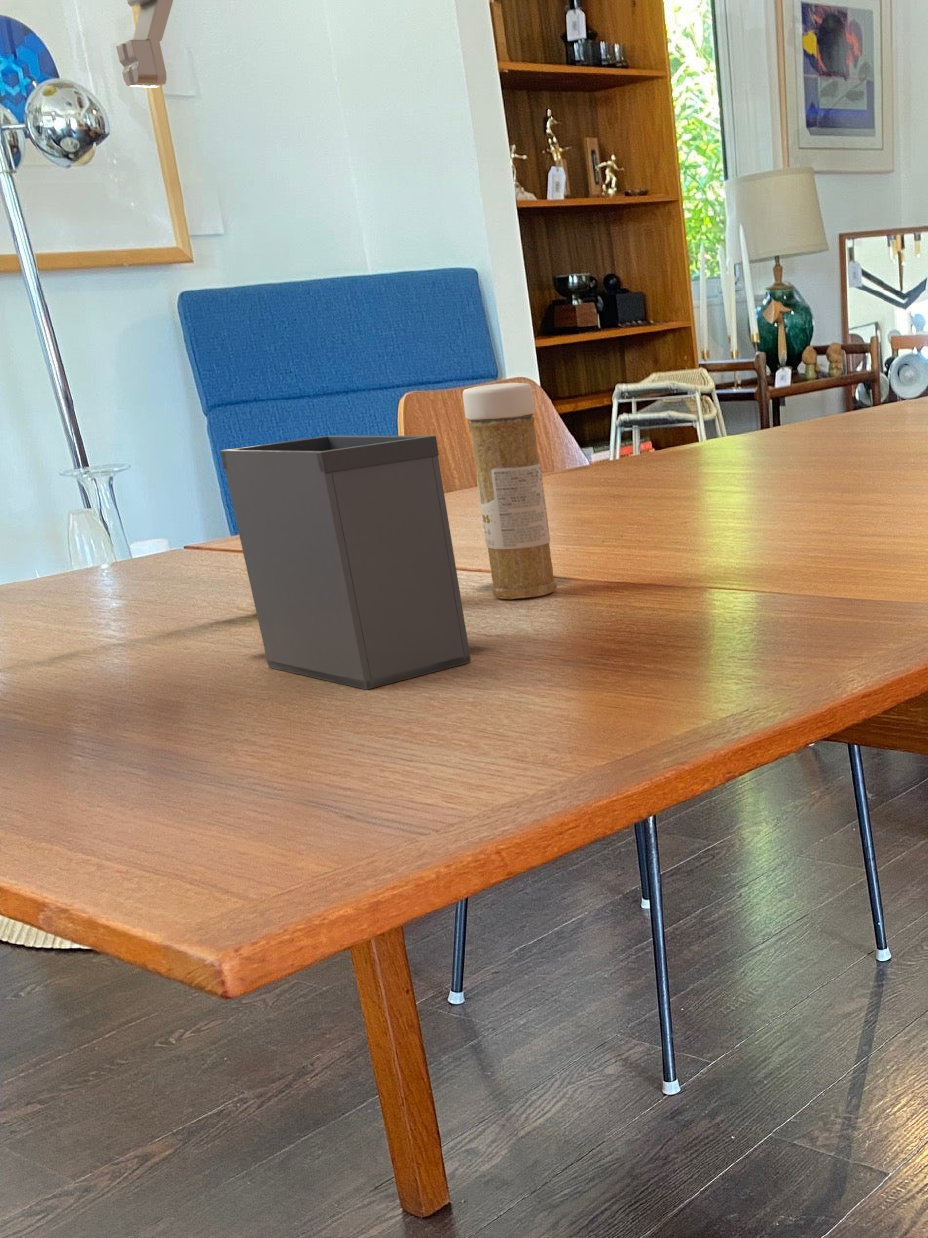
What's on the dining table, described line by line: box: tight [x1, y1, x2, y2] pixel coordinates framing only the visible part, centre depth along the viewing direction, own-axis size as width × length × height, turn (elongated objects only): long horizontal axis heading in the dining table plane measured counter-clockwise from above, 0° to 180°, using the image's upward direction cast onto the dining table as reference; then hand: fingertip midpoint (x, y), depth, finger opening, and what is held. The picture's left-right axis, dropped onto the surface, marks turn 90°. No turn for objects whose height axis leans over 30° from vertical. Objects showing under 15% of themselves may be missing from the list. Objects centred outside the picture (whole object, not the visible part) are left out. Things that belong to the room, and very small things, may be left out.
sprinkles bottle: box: [462, 382, 558, 600], centre depth 96 cm, size 5×5×13 cm
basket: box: [219, 435, 472, 690], centre depth 80 cm, size 11×7×12 cm, turn 44°
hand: (51, 83), depth 68 cm, fingers open, 8 cm apart
